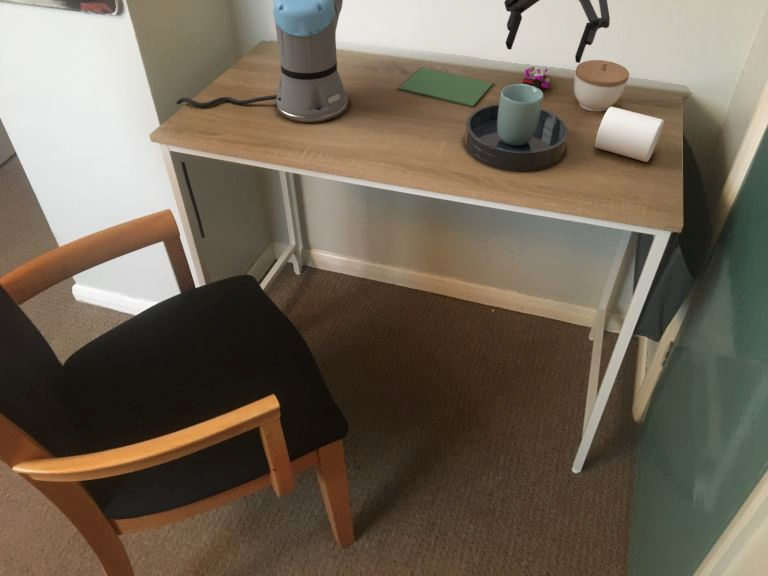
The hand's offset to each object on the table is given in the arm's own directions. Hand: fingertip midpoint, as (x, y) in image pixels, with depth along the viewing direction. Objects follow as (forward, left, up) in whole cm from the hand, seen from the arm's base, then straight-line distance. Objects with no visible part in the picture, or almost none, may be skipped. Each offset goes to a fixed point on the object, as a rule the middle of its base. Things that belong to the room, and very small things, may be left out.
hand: (542, 52), depth 116 cm
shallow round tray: (0, -10, -15) cm, 18 cm away
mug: (+20, -1, -15) cm, 25 cm away
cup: (0, -10, -14) cm, 17 cm away
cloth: (-22, +7, -15) cm, 28 cm away
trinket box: (+10, +14, -15) cm, 23 cm away
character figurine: (-4, +17, -15) cm, 23 cm away
